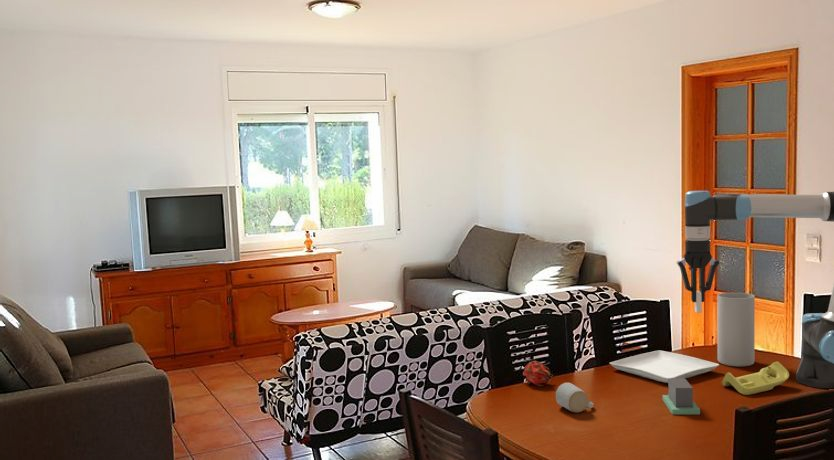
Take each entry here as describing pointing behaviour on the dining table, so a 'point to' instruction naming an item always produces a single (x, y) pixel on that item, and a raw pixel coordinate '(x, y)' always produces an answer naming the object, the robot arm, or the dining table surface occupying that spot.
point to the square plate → (663, 365)
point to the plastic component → (758, 379)
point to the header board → (680, 410)
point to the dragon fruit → (537, 373)
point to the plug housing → (680, 392)
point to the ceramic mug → (572, 398)
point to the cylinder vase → (736, 328)
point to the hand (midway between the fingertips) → (698, 311)
